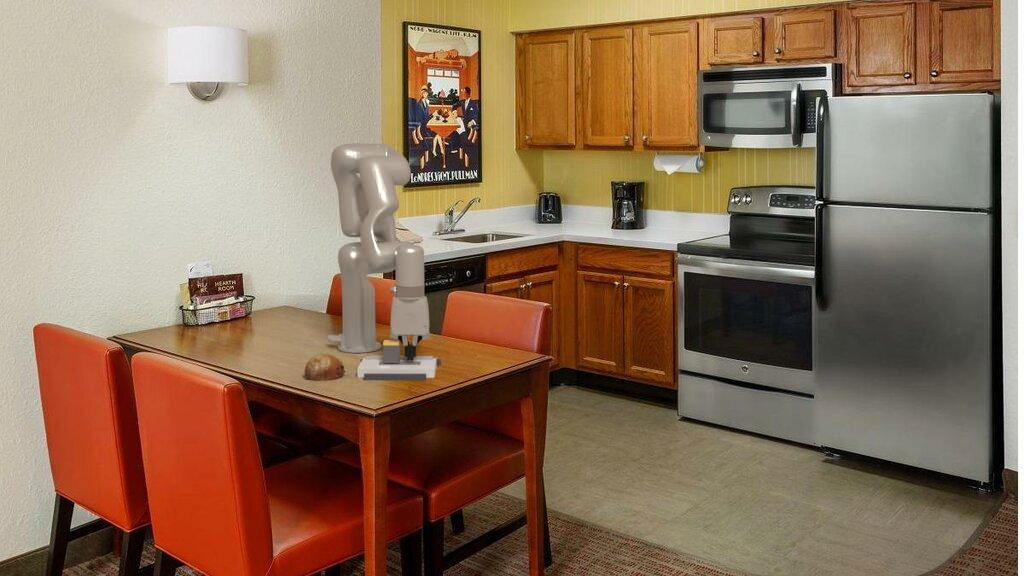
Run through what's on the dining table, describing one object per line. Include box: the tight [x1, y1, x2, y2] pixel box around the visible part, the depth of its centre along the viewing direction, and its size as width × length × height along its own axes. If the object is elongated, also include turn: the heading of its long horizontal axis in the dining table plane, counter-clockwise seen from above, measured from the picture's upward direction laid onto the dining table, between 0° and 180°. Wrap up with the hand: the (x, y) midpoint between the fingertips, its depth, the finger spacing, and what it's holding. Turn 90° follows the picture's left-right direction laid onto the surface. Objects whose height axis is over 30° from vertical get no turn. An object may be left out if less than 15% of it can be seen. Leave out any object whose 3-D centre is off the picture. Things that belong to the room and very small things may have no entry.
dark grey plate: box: [360, 358, 442, 381], centre depth 259 cm, size 22×18×1 cm
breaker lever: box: [382, 339, 401, 363], centre depth 258 cm, size 4×3×6 cm
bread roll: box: [304, 353, 346, 382], centre depth 253 cm, size 10×10×8 cm
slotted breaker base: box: [357, 355, 438, 379], centre depth 258 cm, size 20×12×3 cm, turn 91°
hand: (410, 359), depth 258 cm, fingers closed
